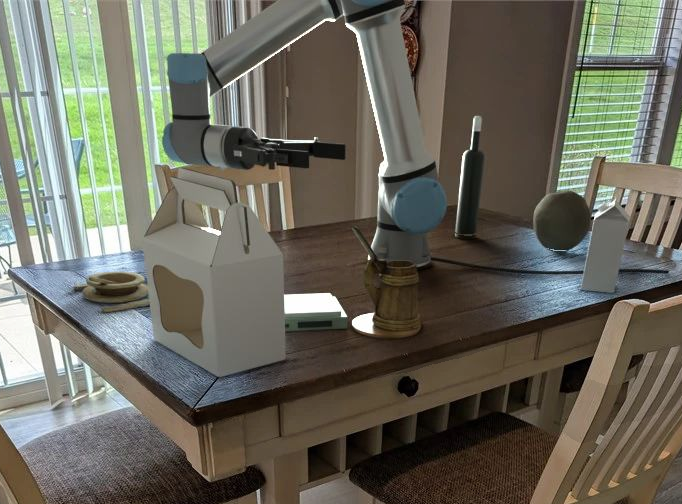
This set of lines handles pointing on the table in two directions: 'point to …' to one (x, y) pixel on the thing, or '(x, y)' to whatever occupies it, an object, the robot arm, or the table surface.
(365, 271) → the wooden mug
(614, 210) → the milk carton
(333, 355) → the table surface
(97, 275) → the tableware set
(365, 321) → the golden round disc
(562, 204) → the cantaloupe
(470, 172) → the wine bottle
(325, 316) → the kitchen scale
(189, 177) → the gable box
